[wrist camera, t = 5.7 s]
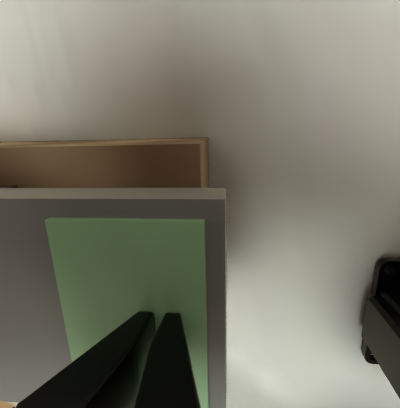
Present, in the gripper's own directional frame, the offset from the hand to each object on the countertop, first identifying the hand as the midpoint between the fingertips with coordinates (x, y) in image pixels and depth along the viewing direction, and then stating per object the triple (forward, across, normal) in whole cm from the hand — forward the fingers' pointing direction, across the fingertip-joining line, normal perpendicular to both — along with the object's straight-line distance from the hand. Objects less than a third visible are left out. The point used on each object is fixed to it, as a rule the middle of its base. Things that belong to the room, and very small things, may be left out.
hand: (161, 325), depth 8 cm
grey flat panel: (+2, +7, 0) cm, 7 cm away
